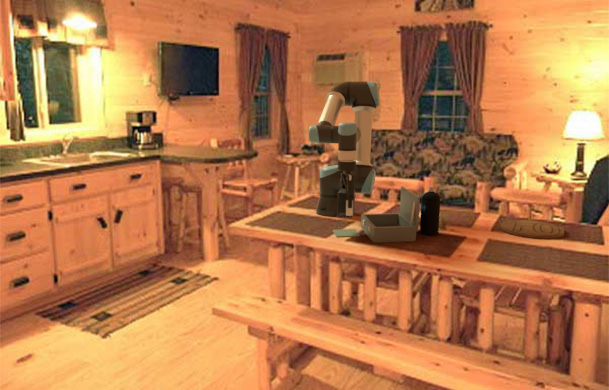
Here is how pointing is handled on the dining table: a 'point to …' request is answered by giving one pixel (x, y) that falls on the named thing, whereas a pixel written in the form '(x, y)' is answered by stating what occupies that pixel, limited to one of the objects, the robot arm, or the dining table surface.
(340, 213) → the small box
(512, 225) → the trivet
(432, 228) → the aerosol can
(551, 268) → the dining table surface
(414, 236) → the case
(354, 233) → the mat
